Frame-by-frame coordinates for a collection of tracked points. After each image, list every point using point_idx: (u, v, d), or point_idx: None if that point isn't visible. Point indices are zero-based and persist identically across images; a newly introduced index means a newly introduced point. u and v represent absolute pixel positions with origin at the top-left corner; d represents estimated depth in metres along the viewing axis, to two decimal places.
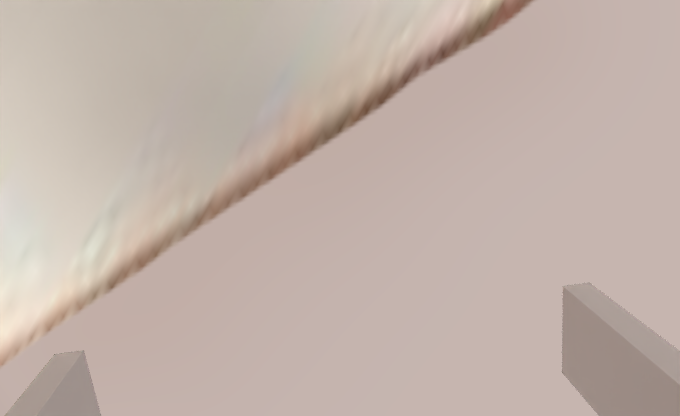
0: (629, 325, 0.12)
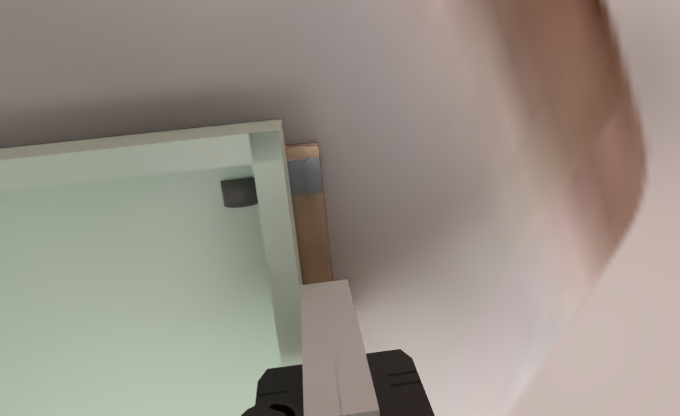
0: (343, 315, 0.14)
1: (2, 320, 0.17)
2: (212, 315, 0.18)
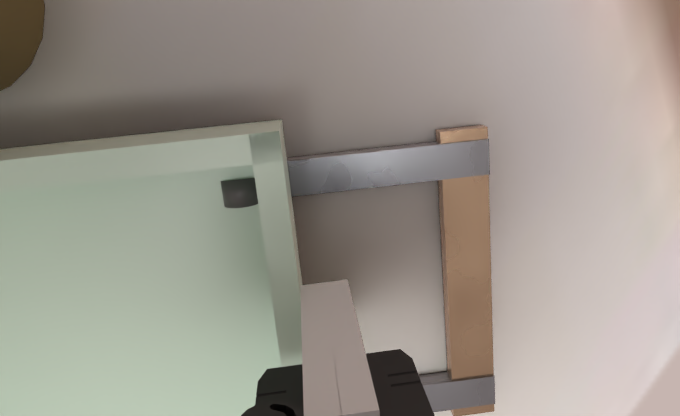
0: (343, 315, 0.14)
1: (2, 320, 0.17)
2: (212, 315, 0.18)
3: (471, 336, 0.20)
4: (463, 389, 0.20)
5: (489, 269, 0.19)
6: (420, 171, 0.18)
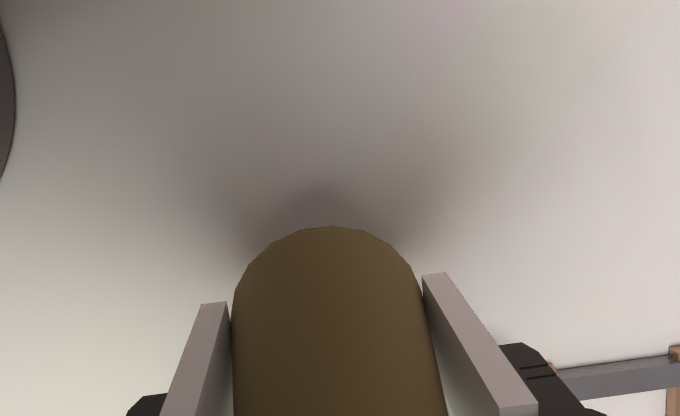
0: (457, 308, 0.14)
1: None
2: None
3: None
4: None
5: None
6: (662, 381, 0.24)
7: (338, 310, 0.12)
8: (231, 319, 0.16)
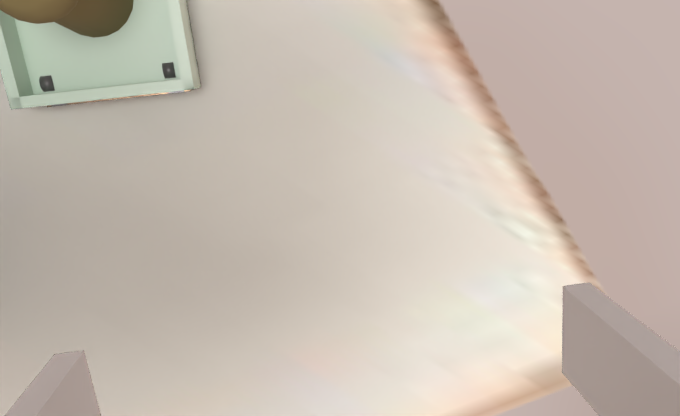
0: (629, 325, 0.12)
1: (86, 51, 0.40)
2: None
3: None
4: None
5: None
6: None
7: None
8: None
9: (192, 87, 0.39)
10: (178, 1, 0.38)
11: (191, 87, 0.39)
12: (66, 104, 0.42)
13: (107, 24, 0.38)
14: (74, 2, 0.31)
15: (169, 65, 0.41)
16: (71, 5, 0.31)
